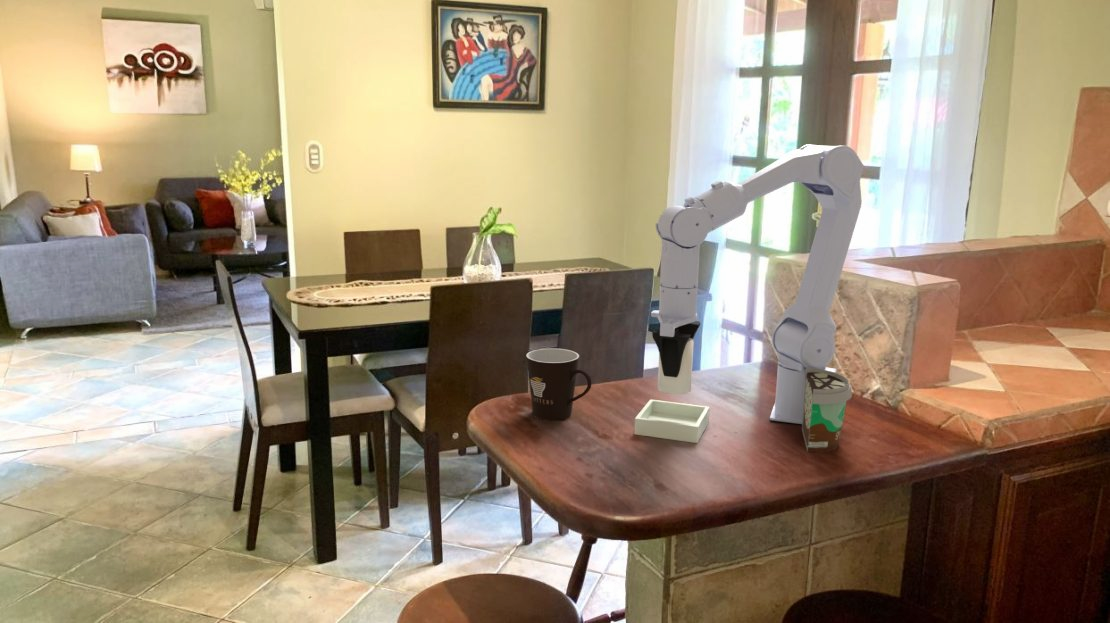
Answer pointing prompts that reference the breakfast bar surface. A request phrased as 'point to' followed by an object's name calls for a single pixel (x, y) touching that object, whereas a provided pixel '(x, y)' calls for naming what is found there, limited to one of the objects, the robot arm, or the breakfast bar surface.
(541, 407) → the coffee mug
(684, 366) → the cup
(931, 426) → the breakfast bar surface
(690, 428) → the tray
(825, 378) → the food container
